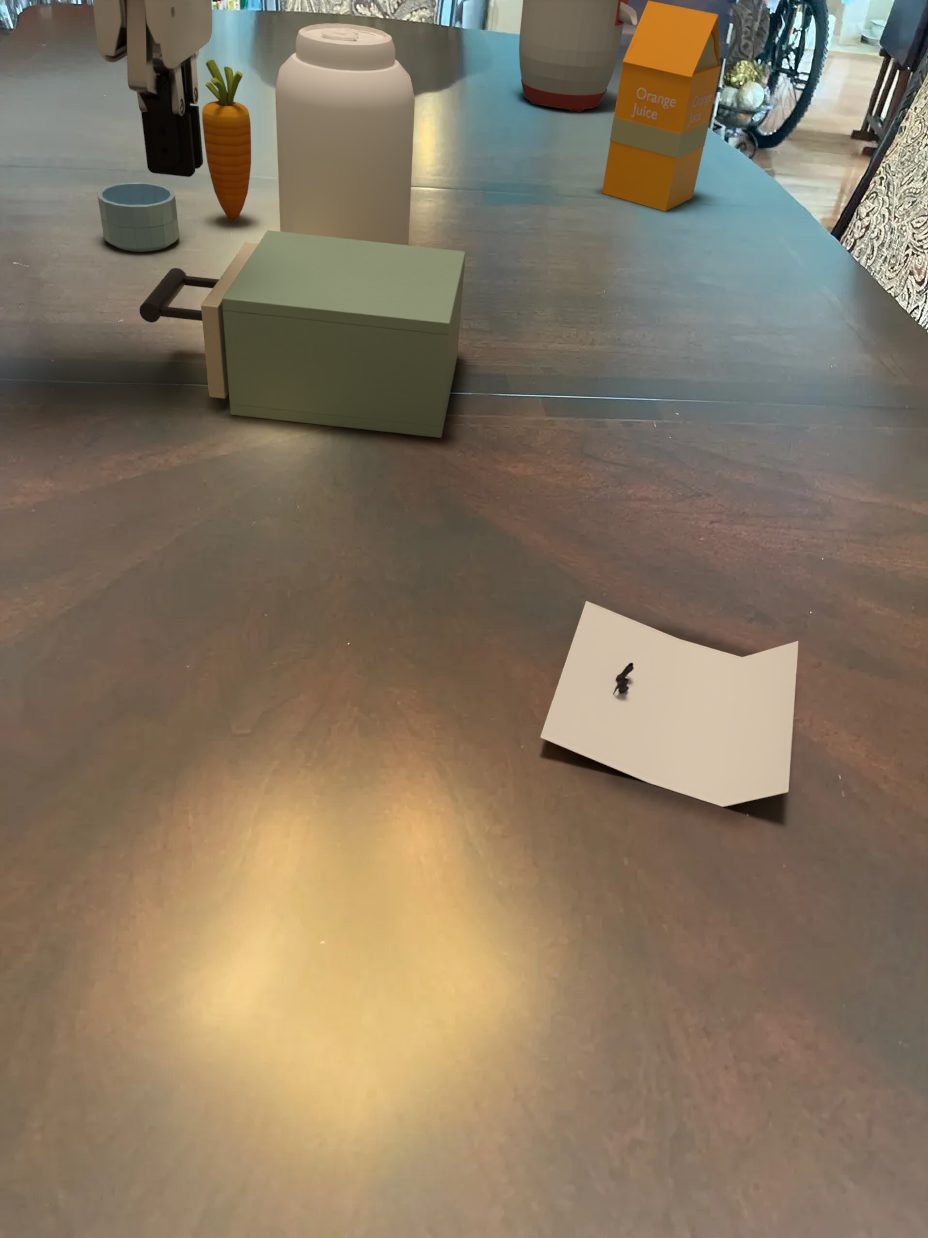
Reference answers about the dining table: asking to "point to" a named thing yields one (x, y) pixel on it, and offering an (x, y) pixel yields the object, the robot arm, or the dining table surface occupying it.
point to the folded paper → (676, 710)
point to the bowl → (138, 216)
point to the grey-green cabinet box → (344, 333)
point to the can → (345, 136)
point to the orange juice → (663, 107)
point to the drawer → (201, 313)
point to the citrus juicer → (570, 49)
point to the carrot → (227, 141)
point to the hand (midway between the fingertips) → (176, 168)
